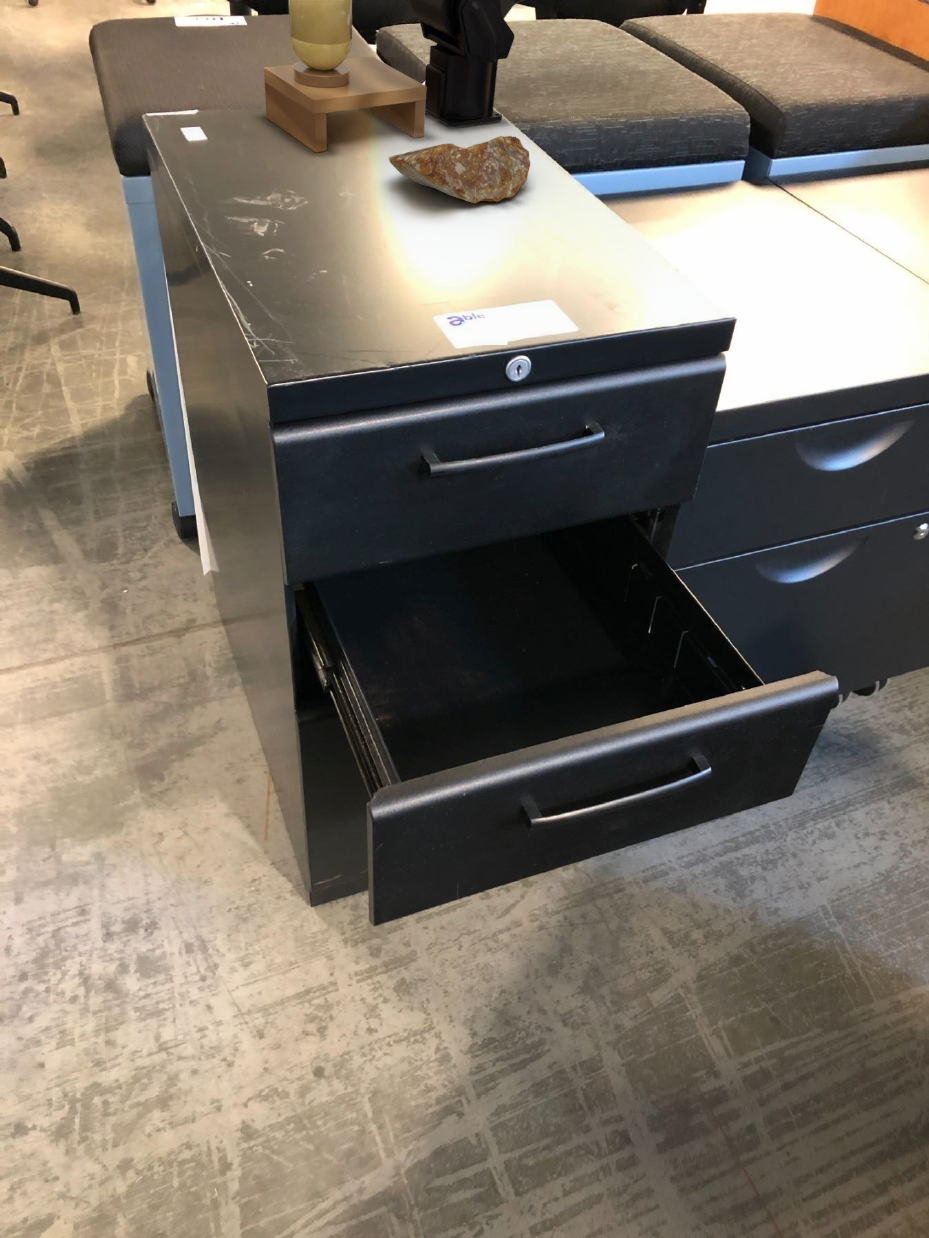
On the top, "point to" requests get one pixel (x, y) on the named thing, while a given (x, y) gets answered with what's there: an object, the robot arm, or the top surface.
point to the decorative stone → (469, 168)
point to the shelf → (344, 100)
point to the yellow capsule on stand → (321, 41)
